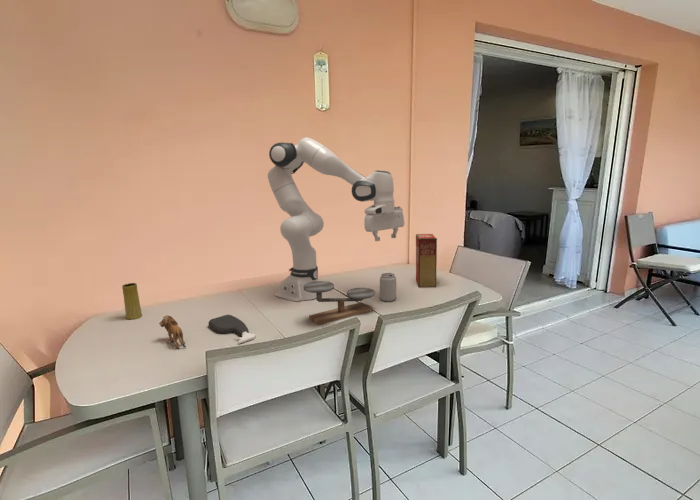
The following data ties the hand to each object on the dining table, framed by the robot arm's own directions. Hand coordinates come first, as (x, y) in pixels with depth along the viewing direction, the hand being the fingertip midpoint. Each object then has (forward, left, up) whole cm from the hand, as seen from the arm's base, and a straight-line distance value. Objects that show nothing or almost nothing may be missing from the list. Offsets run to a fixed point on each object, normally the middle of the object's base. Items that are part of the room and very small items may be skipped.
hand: (385, 239), depth 171 cm
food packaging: (+10, +31, -28) cm, 43 cm away
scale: (-10, -24, -28) cm, 38 cm away
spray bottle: (-40, -55, -29) cm, 74 cm away
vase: (-90, -61, -28) cm, 113 cm away
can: (+1, +1, -28) cm, 28 cm away
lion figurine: (-53, -71, -28) cm, 93 cm away
